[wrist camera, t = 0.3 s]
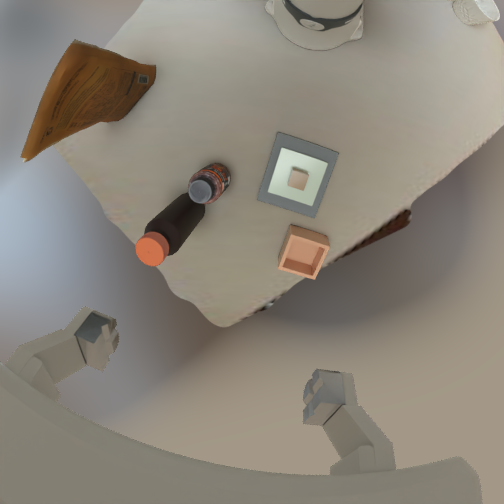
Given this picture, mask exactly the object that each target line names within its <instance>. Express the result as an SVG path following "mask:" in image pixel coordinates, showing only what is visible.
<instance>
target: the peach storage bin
mask: <svg viewBox="0 0 504 504" xmlns="http://www.w3.org/2000/svg"><path fill="white" fill-rule="evenodd" d="M329 248H330V245H329V242H328V239H327V236H325V235H322V234H319V233H316V232H313V231H310V230H307V229H304V228H301V227H298V226H295V225H292V224H291V225H290V228H289V230H288V233H287V236H286V238H285V241H284V244H283V246H282V249H281V252H280V254H279V258H278V269H280V270H283V271H287V272H290V273H294V274H297V275H300V276H304V277H307V278H311V279H314V280H315V278H316V276H317V274H318V272H319V269H320V267H321V265H322V263H323V261H324V259H325V257H326V254H327V252H328V250H329Z"/></svg>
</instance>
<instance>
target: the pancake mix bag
mask: <svg viewBox="0 0 504 504" xmlns="http://www.w3.org/2000/svg"><path fill="white" fill-rule="evenodd" d="M155 77H156V65H145V64H140V63H138V62H136V61H134V60H131V59H128V58H125V57H123V56H121V55H119V54H117V53H114V52H112V51H109V50H105V49H102V48H99V47H97V46H95V45H91V44H88V43H84V42H81V41H78V40H76V39H75V40H74V41H73V42H72V43H71V45H70V46H69V47H68V49H67V50H66V51H65V53H64V55H63V56H62V58H61V59H60V61H59V63H58V65H57V66H56V68H55V70H54V72H53V74H52V76H51V78H50V80H49V82H48V84H47V86H46V89H45V91H44V93H43V96H42V98H41V101H40V103H39V106H38V110H37V112H36V115H35V118H34V121H33V124H32V126H31V129H30V131H29V134H28V137H27V141H26V143H25V145H24V148H23V151H22V154H21V157H22V158H24V161H23V162H27V161H29V160H31V159H32V158H34V157H35V156H37V155H38V154H39V153H40V152H42V151H43V150H45V149H46V148H48V147H50V146H52V145H54V144H56V143H58V142H59V141H61V140H62V139H64V138H66V137H68V136H70V135H72V134H74V133H76V132H78V131H80V130H83V129H86V128H88V127H90V126H92V125H94V124H96V123H99V122H111V121H119V120H120V119H122V118H124V117H125V115H126V114H127V113H128V112H129V111H130V109H131V108H132V107H133V106H134V105H135V103H136V102H137V101H138V100H139V99H140V97H141V96H142V95H143V94H144V93H145V92H146V91H147V90H148V89H149V88H150V87H151V86H152V85H153V84H154V81H155Z"/></svg>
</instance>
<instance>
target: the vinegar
mask: <svg viewBox="0 0 504 504" xmlns="http://www.w3.org/2000/svg"><path fill="white" fill-rule="evenodd" d="M204 213H205V207H204V204H202V203H196V202H194V201H193V200H192V199H191V198H190V196H189V193H186V194H183V195H181V196H179V197H178V198H177V199H176V200H174V201H173V202H172V203H171V204H170V205H169V206H167V207H166V208H165V209H164V210H163V211H162V212H160V213H159V214H158V215H157V216H156V217H155V218H154V219H152V220H151V221H150V222H149V223H148V224H147V226H146V228H145V233H144V235H143V236H142V237H141V238H140V239H139V240H138V242H137V243H136V253H137V256H138V257H139V259H140V260H141V261H142V262H143V263H145V264H147V265H150V266H158V265H160V264H161V263H162V262H163V260H164V259H165V258H166V256H169V255H173V254H174V253H176V252H177V251H178V250H179V248H180V247H181V246H182V244H183V243H184V242H185V240H186V239H187V238H188V236H189V235H190V234H191V232H192V231H193V230H194V228H195V227H196V226H197V224H198V223H199V222H200V220H201V219H202V218H203V216H204Z"/></svg>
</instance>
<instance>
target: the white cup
mask: <svg viewBox="0 0 504 504" xmlns="http://www.w3.org/2000/svg"><path fill="white" fill-rule="evenodd" d="M453 9H454V12H455V13H456V15H457V17H458V18H459V19H460V20H461V21H462V22H464V23H465V24H467V25H475V24H482V23H487V22H492V21H497V20H498V19H499V18H500V15H499V10H498V8H497V6H496V4H495V2H494V1H493V0H457V1H455V2H454V3H453Z"/></svg>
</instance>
